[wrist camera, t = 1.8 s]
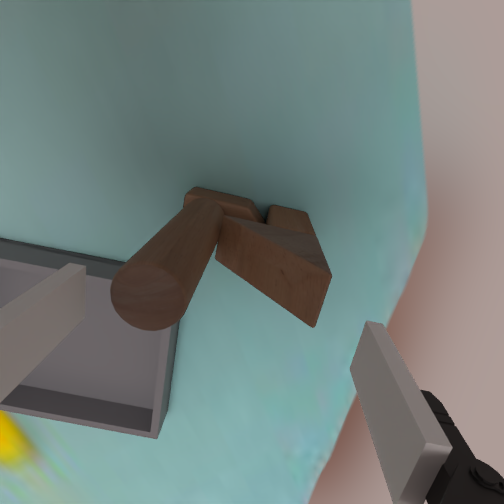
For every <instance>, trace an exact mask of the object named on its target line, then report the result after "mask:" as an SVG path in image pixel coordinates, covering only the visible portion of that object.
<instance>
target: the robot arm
mask: <svg viewBox="0 0 504 504" xmlns="http://www.w3.org/2000/svg"><path fill="white" fill-rule="evenodd" d="M85 289H86V266H84V265H79V264H74V263H68V264H67V265H65V266H64V267H62V268H61V269H59V270H58V271H56V272H55V273H53V274H52V275H50V276H49V277H47V278H46V279H44V280H43V281H41V282H40V283H38V284H37V285H35V286H34V287H32V288H31V289H29V290H28V291H26V292H25V293H23V294H22V295H20V296H19V297H17V298H16V299H14V300H12V301H11V302H9V303H8V304H6V305H5V306H3V307H2V308H0V403H1V402H2V401H3V400H4V399H5V398H6V397H7V396H8V395H9V394H10V393H11V392H12V391H13V390H14V389H15V388H16V387H17V386H18V384H19V383H20V382H21V381H22V380H23V379H24V378H25V377H26V376H27V375H28V374H29V373H30V372H31V371H32V370H33V369H34V368H35V367H36V366H37V365H38V364H39V363H40V362H41V361H42V360H43V359H44V358H45V357H46V356H47V355H48V354H49V353H50V352H51V351H52V350H53V349H54V348H55V347H56V346H57V345H58V344H59V343H60V342H61V341H62V340H63V339H64V338H65V337H66V336H67V335H68V334H69V333H70V332H71V331H72V330H73V329H74V328H75V327H76V326H77V325H78V324H79V323H80V322H81V321H82V320H83V319H84V318H85ZM350 372H351V375H352V378H353V381H354V384H355V387H356V390H357V393H358V396H359V400H360V402H361V406H362V409H363V412H364V415H365V418H366V421H367V424H368V427H369V430H370V433H371V437H372V439H373V443H374V446H375V449H376V452H377V455H378V458H379V461H380V464H381V467H382V471H383V473H384V477H385V480H386V483H387V486H388V489H389V492H390V495H391V498H392V501H393V504H424V502H425V500H427V503H428V504H504V479H503V477H502V476H501V475H500V474H499V473H498V472H497V471H496V470H494V469H493V468H492V467H490V466H489V465H488V464H486V463H484V462H482V461H480V460H478V459H476V458H475V456H474V455H473V453H472V451H471V450H470V448H469V446H468V445H467V443H466V442H465V440H464V438H463V437H462V435H461V434H460V432H459V430H458V429H457V427H456V426H454V422H453V421H452V419H451V417H449V416H448V415H449V414H448V413H447V411H446V409H445V408H444V406H443V404H442V403H441V402H440V401H439V400H438V399H437V398H436V397H435V396H434V395H433V394H432V393H431V392H429V391H424V390H420V389H419V387H418V386H417V384H416V382H415V380H414V379H413V377H412V375H411V373H410V372H409V370H408V368H407V366H406V364H405V363H404V361H403V359H402V357H401V356H400V354H399V352H398V350H397V349H396V347H395V345H394V343H393V341H392V340H391V338H390V336H389V334H388V333H387V331H386V329H385V327H384V326H383V324H381V323H376V322H371V321H366V323H365V326H364V329H363V332H362V334H361V337H360V340H359V343H358V346H357V349H356V352H355V355H354V357H353V360H352V363H351V366H350Z"/></svg>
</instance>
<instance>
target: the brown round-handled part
mask: <svg viewBox="0 0 504 504" xmlns="http://www.w3.org/2000/svg"><path fill="white" fill-rule="evenodd" d="M217 242H218V245H217V250H216V255H215V259H216V260H217V261H219V262H220V263H221V264H223V265H224V266H226V267H227V268H228V269H230V270H231V271H233V272H234V273H235V274H237V275H238V276H240V277H241V278H243V279H244V280H245V281H247V282H248V283H250V284H251V285H252V286H254V287H255V288H257V289H258V290H259V291H261V292H262V293H264V294H265V295H266V296H268V297H269V298H271V299H272V300H273V301H275V302H276V303H278V304H279V305H281V306H282V307H283V308H285V309H286V310H288V311H289V312H290V313H292V314H293V315H295V316H296V317H297V318H299V319H300V320H302V321H303V322H304V323H306V324H307V325H309V326H310V327H312V328H314V327H315V326H316V323H317V320H318V317H319V314H320V311H321V308H322V305H323V302H324V299H325V296H326V293H327V290H328V287H329V284H330V281H331V278H332V274H331V271H330V269H329V266H328V264H327V261H326V259H325V256H324V254H323V251H322V249H321V246H320V243H319V241H318V238H317V237H316V234H315V232H314V229H313V227H312V224H311V222H310V219H309V217H308V214H307V213H306V212H303V211H299V210H294V209H290V208H286V207H281V206H277V205H271V206H270V208H269V212H268V216H267V220H266V224H265V220H264V219H263V217H262V216H261V214H260V213H259V211H258V209H257V208H256V206H255V205H254V203H253V202H252V201H251V200H250V199H247V198H242V197H238V196H234V195H229V194H225V193H221V192H216V191H212V190H208V189H204V188H199V187H194V188H192V189H191V190H190V191H189V192H188V193H186V195H185V198H184V205H183V209H182V210H181V211H180V212H179V213H178V214H177V215H176V216H175V217H173V218H172V219H171V220H170V221H169V222H168V223H167V224H166V225H165V226H164V227H163V228H162V229H161V230H160V231H159V232H158V233H157V234H156V235H154V236H153V237H152V238H151V239H150V240H149V241H148V242H147V243H146V244H145V245H144V246H143V247H142V248H141V249H140V250H139V251H138V252H137V253H136V254H134V255H133V256H132V257H131V258H130V259H129V260H128V261H127V262H126V263H125V264H124V265H123V266H122V267H121V268H120V269H119V270H118V271H117V273H116V274H115V275H114V277H113V280H112V283H111V287H110V294H111V302H112V304H113V307H114V309H115V311H116V312H117V313H118V315H119V316H120V317H121V318H122V319H123V320H124V321H125V322H127V323H128V324H130V325H131V326H133V327H136V328H138V329H141V330H147V331H157V330H162V329H166V328H168V327H170V326H172V325H174V324H175V323H177V322H178V321H179V320H180V319H181V317H182V316H183V315H184V313H185V311H186V309H187V307H188V305H189V302H190V300H191V298H192V296H193V294H194V292H195V290H196V287H197V285H198V283H199V281H200V279H201V277H202V274H203V272H204V270H205V268H206V266H207V264H208V261H209V259H210V257H211V255H212V253H213V251H214V248H215V246H216V244H217Z"/></svg>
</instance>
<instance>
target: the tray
mask: <svg viewBox="0 0 504 504" xmlns="http://www.w3.org/2000/svg"><path fill="white" fill-rule="evenodd" d="M68 263H74V264H79V265H84V266H86V289H85V318H84V319H83V320H82V321H81V322H80V323H79V324H78V325H77V326H76V327H75V328H74V329H73V330H72V331H71V332H70V333H69V334H68V335H67V336H66V337H65V338H64V339H63V340H62V341H61V342H60V343H59V344H58V345H57V346H56V347H55V348H54V349H53V350H52V351H51V352H50V353H49V354H48V355H47V356H46V357H45V358H44V359H43V360H42V361H41V362H40V363H39V364H38V365H37V366H36V367H35V368H34V369H33V370H32V371H31V372H30V373H29V374H28V375H27V376H26V377H25V378H24V379H23V380H22V381H21V382H20V383H19V384H18V386H17V387H16V388H15V389H14V390H13V391H12V392H11V393H10V394H9V395H8V396H7V397H6V398H5V399H4V400H3V401H2V402H1V403H0V410H4V411H9V412H14V413H20V414H25V415H30V416H36V417H41V418H46V419H52V420H57V421H63V422H68V423H73V424H79V425H84V426H89V427H95V428H100V429H105V430H111V431H116V432H121V433H127V434H132V435H137V436H143V437H148V438H153V439H157V438H158V436H159V433H160V430H161V427H162V425H163V422H164V419H165V416H166V414H167V411H168V404H169V397H170V389H171V381H172V374H173V366H174V359H175V351H176V344H177V336H178V329H179V321H180V320H179V321H178V322H177V323H175V324H174V325H172V326H170V327H168V328H166V329H162V330H157V331H147V330H141V329H138V328H136V327H133V326H131V325H130V324H128V323H127V322H125V321H124V320H123V319H122V318H121V317H120V316H119V315H118V313H117V312H116V311H115V309H114V307H113V304H112V302H111V294H110V287H111V283H112V280H113V277H114V275H115V274H116V273H117V271H118V270H119V269H120V268H121V267H122V266H123V265H124V264H125V263H126V262H121V261H116V260H111V259H106V258H101V257H95V256H90V255H85V254H80V253H75V252H70V251H65V250H59V249H54V248H49V247H44V246H39V245H34V244H29V243H23V242H18V241H13V240H8V239H3V238H0V308H2V307H3V306H5V305H6V304H8V303H9V302H11V301H12V300H14V299H16V298H17V297H19V296H20V295H22V294H23V293H25V292H26V291H28V290H29V289H31V288H32V287H34V286H35V285H37V284H38V283H40V282H41V281H43V280H44V279H46V278H47V277H49V276H50V275H52V274H53V273H55V272H56V271H58V270H59V269H61V268H62V267H64V266H65V265H67V264H68Z"/></svg>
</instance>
